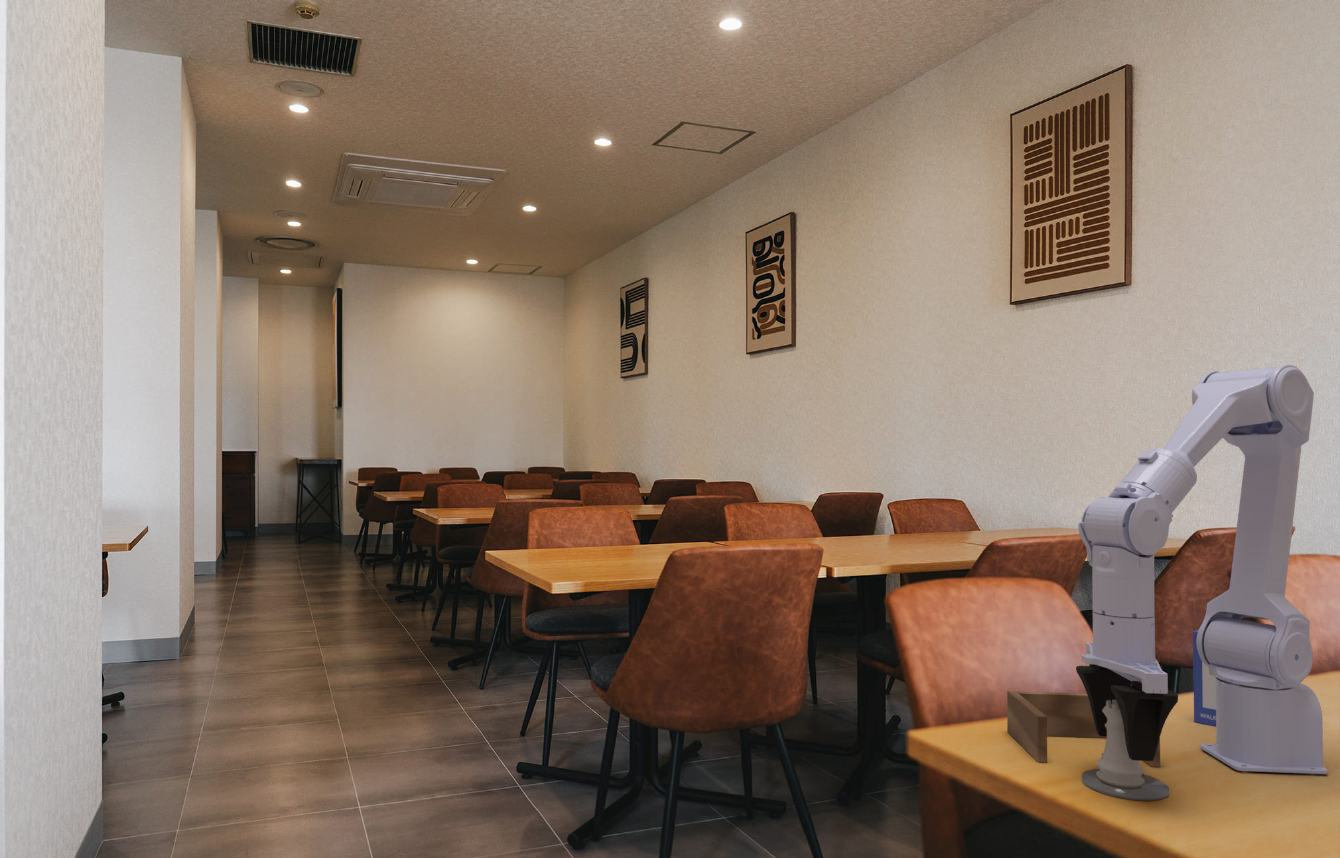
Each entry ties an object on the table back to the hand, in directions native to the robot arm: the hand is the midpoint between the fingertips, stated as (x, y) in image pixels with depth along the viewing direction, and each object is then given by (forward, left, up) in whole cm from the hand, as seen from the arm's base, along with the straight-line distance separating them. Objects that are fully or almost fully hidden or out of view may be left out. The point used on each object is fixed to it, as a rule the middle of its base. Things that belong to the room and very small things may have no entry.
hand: (1124, 747), depth 90 cm
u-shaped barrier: (0, -12, -4) cm, 13 cm away
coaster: (0, 0, -4) cm, 4 cm away
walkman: (-23, -24, -4) cm, 33 cm away
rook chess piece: (0, 0, -4) cm, 4 cm away
